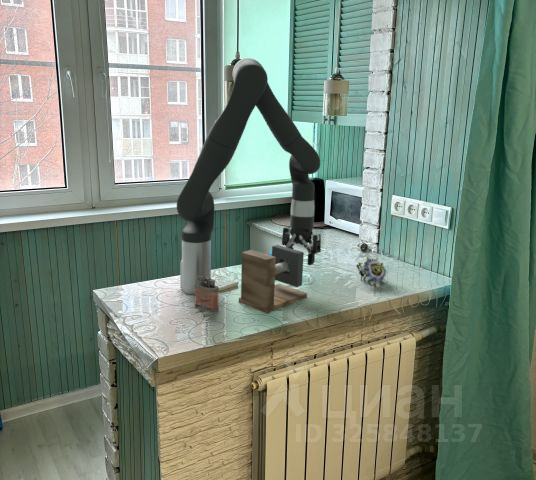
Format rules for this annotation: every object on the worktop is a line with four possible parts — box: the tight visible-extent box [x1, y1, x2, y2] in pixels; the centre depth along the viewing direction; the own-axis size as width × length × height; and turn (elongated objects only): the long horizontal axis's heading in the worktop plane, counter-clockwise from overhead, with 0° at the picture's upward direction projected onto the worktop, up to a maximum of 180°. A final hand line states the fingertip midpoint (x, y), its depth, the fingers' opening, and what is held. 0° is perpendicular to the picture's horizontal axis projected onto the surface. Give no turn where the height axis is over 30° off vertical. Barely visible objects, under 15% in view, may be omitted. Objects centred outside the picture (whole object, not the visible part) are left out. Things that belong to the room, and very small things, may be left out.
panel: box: [271, 244, 305, 288], centre depth 167 cm, size 2×11×11 cm, turn 48°
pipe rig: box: [238, 249, 308, 315], centre depth 164 cm, size 20×12×16 cm, turn 138°
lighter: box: [194, 276, 220, 314], centre depth 155 cm, size 8×3×10 cm, turn 59°
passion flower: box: [356, 255, 389, 289], centre depth 182 cm, size 11×11×12 cm
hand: (300, 261), depth 172 cm, fingers open, 8 cm apart
